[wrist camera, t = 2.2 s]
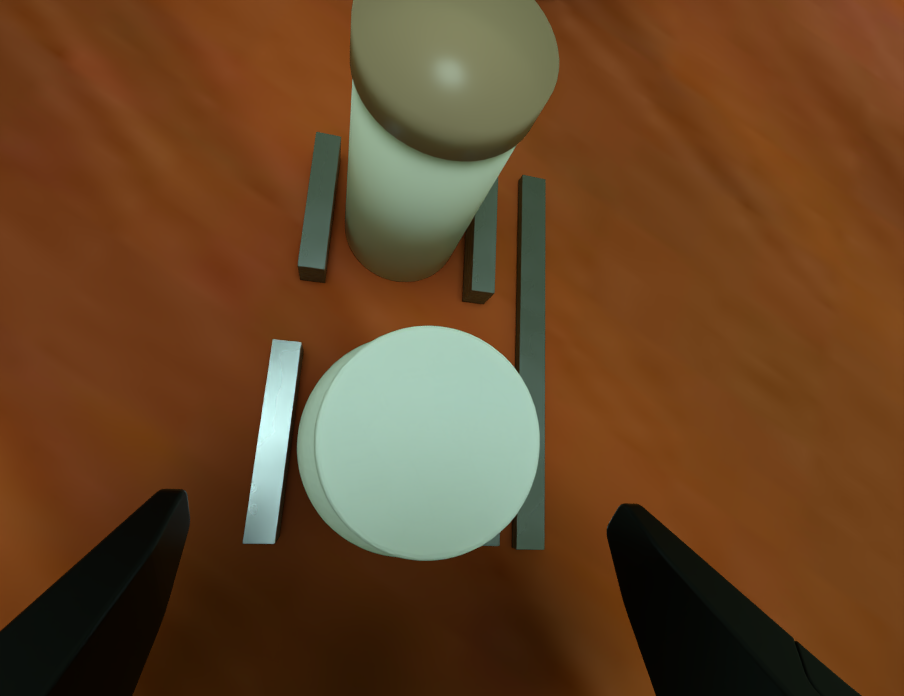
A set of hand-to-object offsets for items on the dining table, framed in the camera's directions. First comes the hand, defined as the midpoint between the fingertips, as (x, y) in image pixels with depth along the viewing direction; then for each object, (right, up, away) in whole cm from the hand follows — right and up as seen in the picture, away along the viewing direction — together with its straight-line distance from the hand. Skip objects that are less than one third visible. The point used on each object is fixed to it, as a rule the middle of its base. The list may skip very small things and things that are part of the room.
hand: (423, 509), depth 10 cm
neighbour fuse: (-2, +9, +11) cm, 14 cm away
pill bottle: (-2, -1, +9) cm, 10 cm away
